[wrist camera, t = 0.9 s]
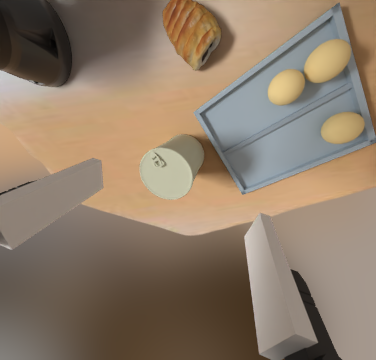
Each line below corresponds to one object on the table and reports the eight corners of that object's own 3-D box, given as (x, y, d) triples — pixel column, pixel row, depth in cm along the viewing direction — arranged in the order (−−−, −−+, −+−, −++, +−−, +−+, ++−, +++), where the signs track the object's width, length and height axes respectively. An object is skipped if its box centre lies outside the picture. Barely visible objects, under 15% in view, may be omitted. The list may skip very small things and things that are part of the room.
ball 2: (293, 62, 22) (307, 53, 18) (330, 37, 20) (355, 20, 16) (304, 91, 23) (320, 88, 19) (340, 70, 21) (366, 62, 17)
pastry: (158, 35, 25) (147, 24, 22) (181, -14, 22) (173, -36, 19) (198, 75, 26) (194, 70, 23) (227, 33, 23) (226, 21, 20)
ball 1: (260, 85, 24) (266, 82, 20) (290, 64, 22) (304, 56, 18) (271, 111, 25) (279, 112, 21) (301, 93, 24) (316, 91, 20)
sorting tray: (195, 112, 29) (193, 112, 28) (331, 9, 20) (339, 2, 18) (241, 191, 34) (242, 194, 33) (368, 140, 24) (377, 142, 23)
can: (193, 126, 30) (174, 137, 20) (211, 165, 33) (202, 192, 23) (158, 144, 34) (126, 162, 24) (176, 178, 37) (156, 207, 26)
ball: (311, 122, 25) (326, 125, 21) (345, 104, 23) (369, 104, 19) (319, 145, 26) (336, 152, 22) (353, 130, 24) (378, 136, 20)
